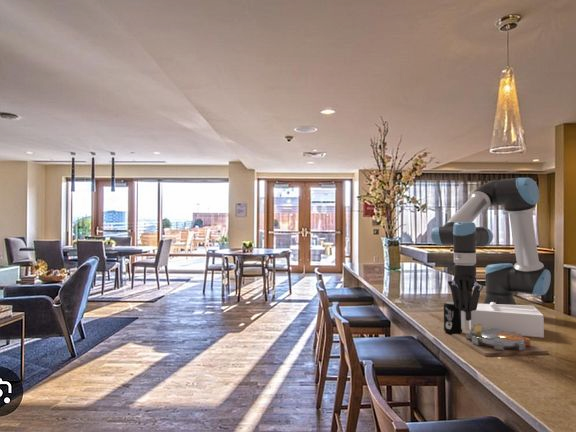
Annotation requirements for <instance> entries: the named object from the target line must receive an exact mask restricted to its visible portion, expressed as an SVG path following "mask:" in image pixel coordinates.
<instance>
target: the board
mask: <svg viewBox="0 0 576 432" xmlns="http://www.w3.org/2000/svg"><path fill="white" fill-rule="evenodd" d="M451 337H452V338H453V339H455V340H457V341H458V342H460V343H462V344H464V345H465V346H466V347H469V348H470V349H472V350H473V351H475V352H477V353H478V354H480V355H482V356H483V357H500V356H501V357H502V356H525V355H526V356H528V355H531V356H533V355H549V350H547V349H544V348H543V347H540V346H538V345H536V344H534V343H532V342H530V346H525V350H516V349H504V350H497V349H494V348H493V347H488V346H484V345H476V344H473V343H472V340H471V339H466V333H461V334H451Z"/></svg>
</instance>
